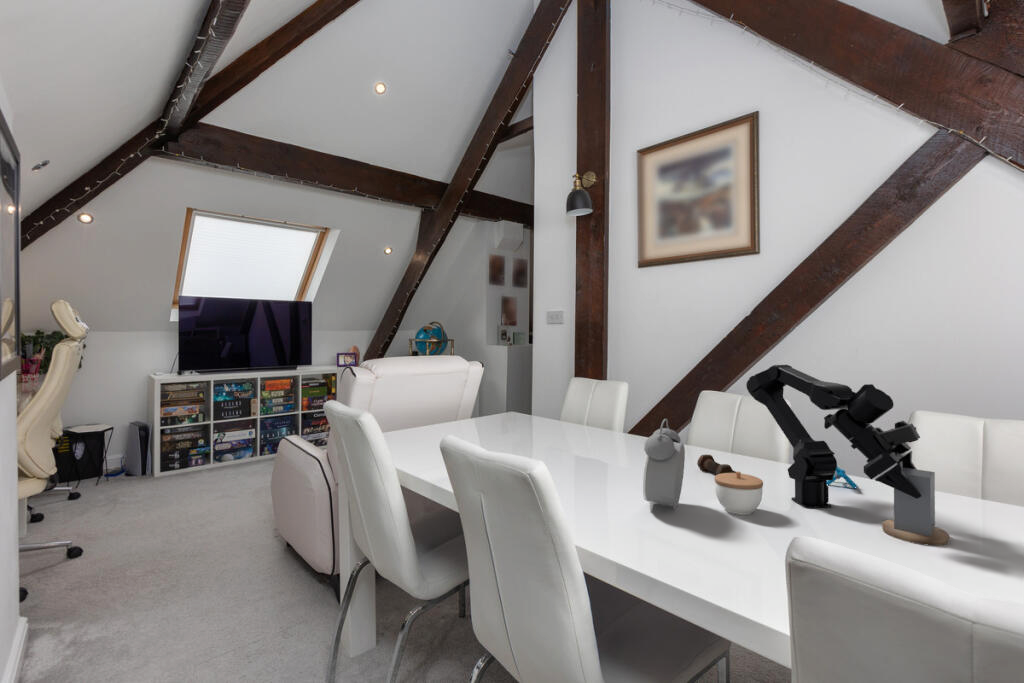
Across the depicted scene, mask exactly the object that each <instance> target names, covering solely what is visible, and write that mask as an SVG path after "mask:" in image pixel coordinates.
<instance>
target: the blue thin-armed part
mask: <svg viewBox="0 0 1024 683" xmlns="http://www.w3.org/2000/svg"><path fill="white" fill-rule="evenodd" d="M841 478H843V479H844V481H846V483H847V484H849V485H850V486H851V487H852V488H854V489H856V488H855V487H857V488H858V487H859V486H858V485H857V484H856V483H855V482H854V481H853V480H852V479H851V477H849V476H848V475H847V474H846V471H845V470H844V469H843V468H841V467H838V466H837V468H836V471H835V474H834V477H833V480H831V481H830V480H827V484H830V485H831V484H833V483H834V482H835V481H837V480H840V479H841Z"/></svg>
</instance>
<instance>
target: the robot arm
mask: <svg viewBox="0 0 1024 683" xmlns="http://www.w3.org/2000/svg"><path fill="white" fill-rule="evenodd" d="M745 386H746V390H747V391H748V393H749V395H750V396H751V397H752V399H754V400H755V401H756V402H758V403H760V404H761V405H764V406H765V407H766V409H767V410H768V411H769V413H770V415H771V416H772V418H773V419H774V421H775V423H777V425H778V426H779V428H780V430H781V431H782V432H783V434H784V435H785V438H787V440H788V441H789V443H790V445H791V446H792V449H793V452H792V458H793V461H794V462H793V463H792V464H791V465H790V466H789V467H788V468H787V473H788V477H789V479H793V480H794V497H793V496H792V497H791V500H792V501H793V502H795V503H796V504H798V505H800V506H802V507H804V508H811V509H812V508H832V505H831V504H830V503H829V502H830V500H829V485H827V481H828V480H830V481H831V480H833V477H834V474H835V472H836V468H837V467H838V461H837V458H836V457H835V454H836V452H834V451H833V450H831V449H830V446H829V445H828V443H827V442H826V441H825V440H815V439H814V438H812V436H811V435H810V434H809V432H808V431H807V430H806V427H805V426H804V425H803V424H802V422H801V421H800V419H799V418H798V417H797V415H796V414H795V412H794V411H793V409H792V408H791V407H790V405H789V404H788V403H787V401H786V400H785V398H784V391H785V390H784V387H786V386H789V387H791V388H792V389H794V390H796V391H798V392H801V393H802V394H805V395H806V396H808V397H809V398H808V399H809V400H810V402H811V403H812V404H813V405H815V406H816V407H817V408H818V409H820V410H823V411H832V410H833V411H835V410H837V411H835V413H833V414H832V413H829V414H827V415H826V416H824V417H823V419H824V429H825V430H828V429H829V428H831V427H832V426H833V427H834V428H835V429H836V430H837V431H838V432H839V433H840V434H841V435H842V436H843V437H845V439H846V440H848V441H849V443H851V445H850V447H851V448H852V449H853V450H855V449H857V450H858V451H859V452H860V453H861V454H862V455H863V456H864V457H865V458H866V463H865V465H863V473H864V474H865V475H866V477H868V478H869V479H870V480H873V479H874V481H875V482H879V483H882V484H883V485H886V486H889V487H890V488H893V489H894V488H895V489H897V490H899V491H901V492H903V493H906V494H908V495H910V496H912V497H914V498H916V499H918V498H920V497H921V494H920V492H919V491H918V490H917V489H916V487H915V486H914V485H913V484H912V482H911V481H910V480H909V479H908V478H907V476H906V475H905V474H904V473H903V468H910V469H917V467H916V466H915V464H914V463H913V460H912V459H913V451H912V450H911V449H912V447H911V446H910V445H909V444H907V443H913V442H917V441H919V439H921V437H920V434H919V433H918V431H917V427H916V426H914V424H913V423H908V422H906V421H905V420H901V421H900V420H899V421H897V422H895V423H894V428H891V429H889V430H883V429H882V428H881V427H877V426H875V427H874V426H873V425H872V424H873V423H874V422H876V421H877V420H878V419H880V418H881V417H883V416H884V415H885V414H887V413H888V412H889V411H891V410H892V409H893V408H894V401H893V400H894V399H892V397H891V396H890V395H888V394H887V393H886V392H884V391H883V390H881V389H879V388H876V387H875V385H874V384H873V383H870V384H863V385H862V386H861V387H860V389H859V390H857V392H855V391H853V389H852V388H851V387H850V386H848V385H846V384H841V383H838V382H829V381H823V380H820V379H818V378H815V377H813V376H811V375H810V374H807V373H804V372H802V371H800V370H798V369H796V368H794V367H792V366H791V365H789V364H774V365H772V366H770V367H768V368H767V369H765V370H762V371H760V372H758V373H756V374H754V375H751V376H750V377H749V378H748V380H747V381H746V385H745ZM910 450H911V451H910ZM906 452H907V453H906Z"/></svg>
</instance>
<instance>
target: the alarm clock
mask: <svg viewBox="0 0 1024 683" xmlns="http://www.w3.org/2000/svg"><path fill="white" fill-rule="evenodd" d="M664 424H666V428H665V427H664ZM643 447H644V452H645V454H646V456H645V461H644V466H643V467H644V468H643V477H642V495H643V499H644V501H646V502H649V512H652V511H653V507H654V505H655V504H660V505H664V506H668V507H669V506H670V507H673V509H676V507H677V506H678V505H679V501H680V497H681V494H682V487H683V480H684V473H685V460H686V459H685V457H686V456H685V453H686V451H685V444H684V443H682V442H681V437H680V435H679V434H678V433H677V432H676V431H675V430H673V429H670V427H669V420H668V418H664V419H663V420H662V422H661V425H660V428H658V429H656V430H655V431H654V432H653V433H652V435H650V436H649V437H647V438H646V440H645V442H644V446H643Z"/></svg>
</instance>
